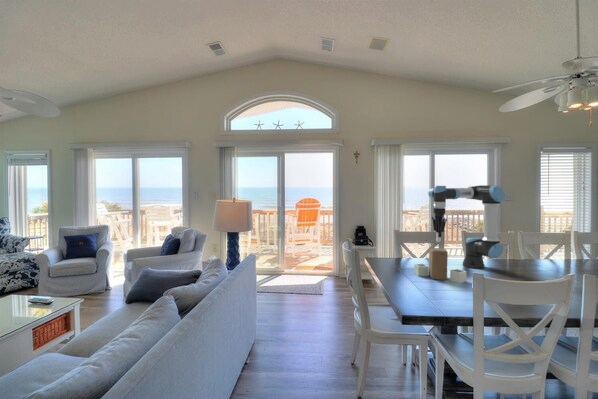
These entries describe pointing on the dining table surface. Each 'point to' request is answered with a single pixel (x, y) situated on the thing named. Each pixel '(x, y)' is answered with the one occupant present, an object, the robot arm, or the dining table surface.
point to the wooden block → (438, 263)
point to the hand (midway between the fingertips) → (438, 241)
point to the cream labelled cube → (458, 275)
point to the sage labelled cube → (420, 269)
